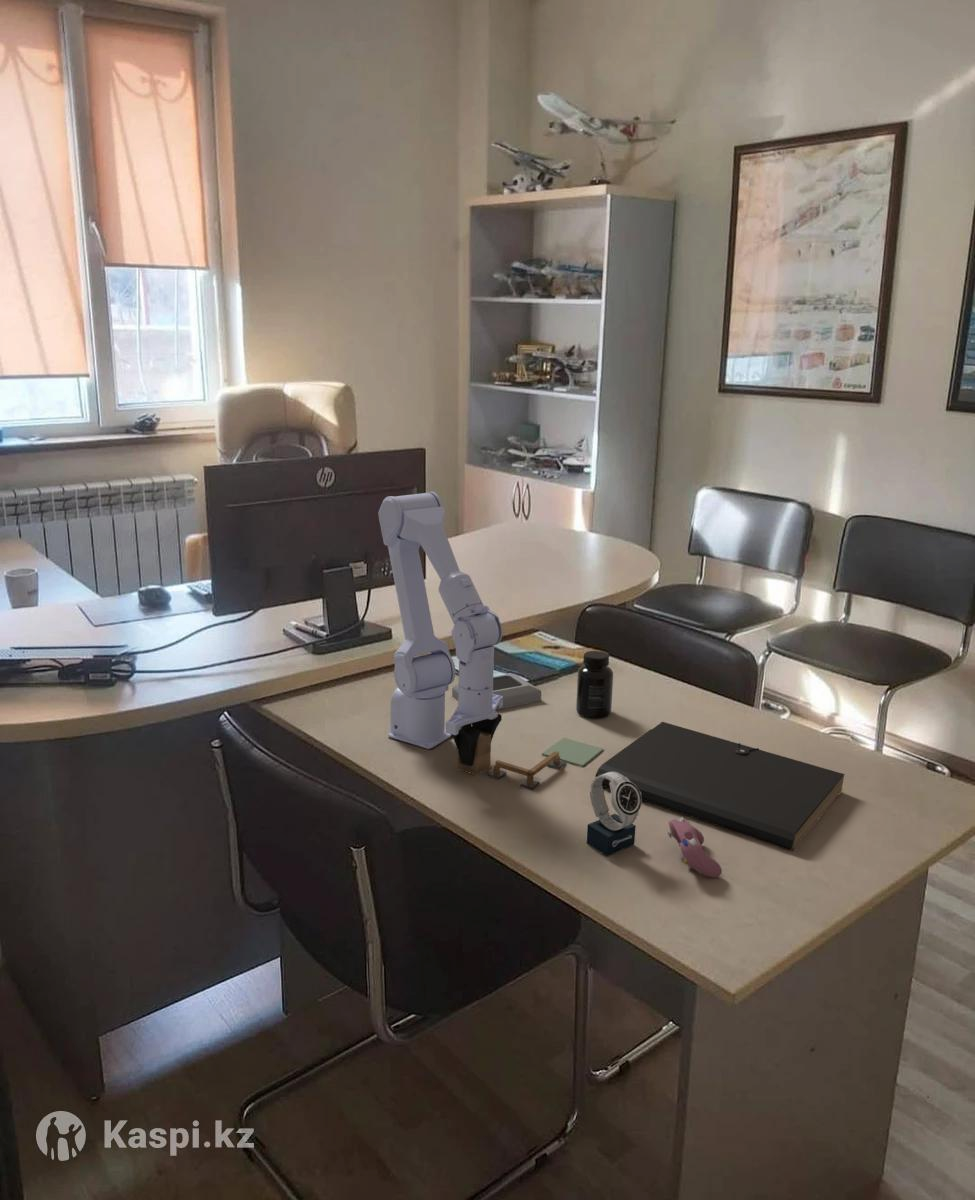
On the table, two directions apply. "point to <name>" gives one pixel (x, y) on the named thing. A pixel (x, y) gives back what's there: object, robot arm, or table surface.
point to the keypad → (510, 690)
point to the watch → (613, 829)
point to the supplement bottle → (594, 686)
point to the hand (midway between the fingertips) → (474, 759)
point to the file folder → (727, 783)
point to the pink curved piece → (693, 848)
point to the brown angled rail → (529, 783)
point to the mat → (574, 751)
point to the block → (479, 755)
